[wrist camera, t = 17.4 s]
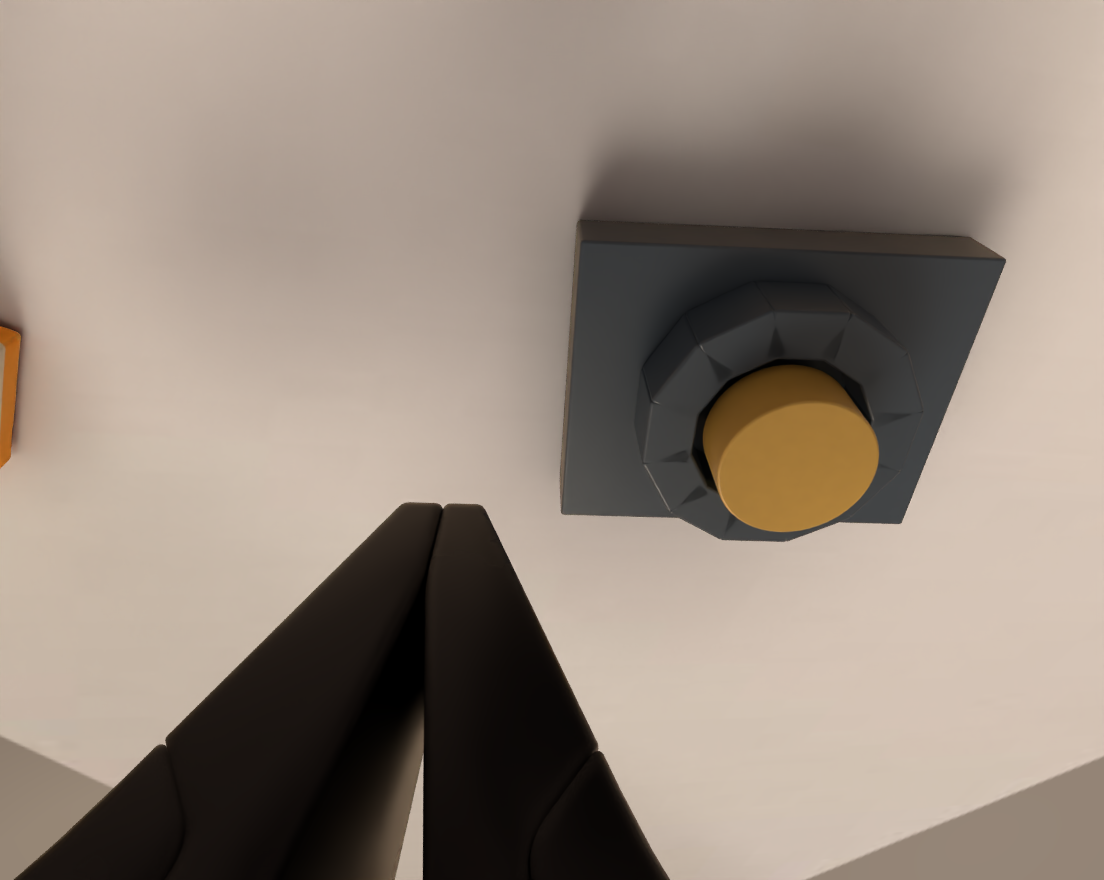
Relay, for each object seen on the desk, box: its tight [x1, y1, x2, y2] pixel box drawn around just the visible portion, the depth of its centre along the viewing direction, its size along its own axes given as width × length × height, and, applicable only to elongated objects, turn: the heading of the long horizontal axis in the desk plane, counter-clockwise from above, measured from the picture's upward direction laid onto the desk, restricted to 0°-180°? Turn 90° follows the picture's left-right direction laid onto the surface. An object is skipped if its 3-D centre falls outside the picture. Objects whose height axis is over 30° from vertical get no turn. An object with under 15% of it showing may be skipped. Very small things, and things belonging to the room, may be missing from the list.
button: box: [703, 365, 879, 532], centre depth 17 cm, size 4×4×2 cm
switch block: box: [560, 220, 1006, 542], centre depth 19 cm, size 10×8×4 cm
